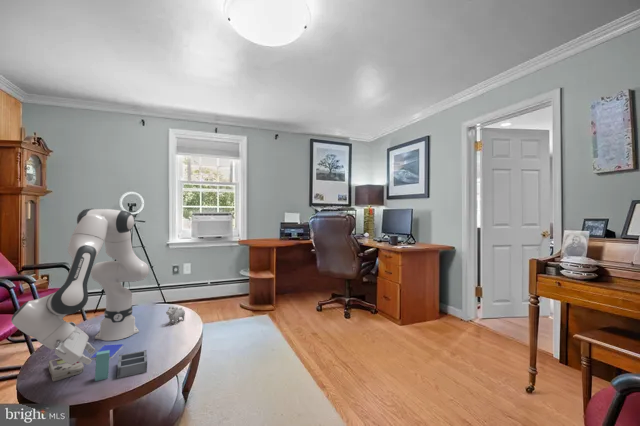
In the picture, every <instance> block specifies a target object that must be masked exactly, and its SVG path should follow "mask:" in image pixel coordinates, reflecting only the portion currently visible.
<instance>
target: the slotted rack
mask: <svg viewBox="0 0 640 426" xmlns="http://www.w3.org/2000/svg"><path fill="white" fill-rule="evenodd" d="M144 373H148V353H147V349H145V350H139V351H134V352H129V353H124V354H123V353H122V354H119V355H118V362H117V372H116V379H121V378H125V377H130V376H135V375H139V374H144Z"/></svg>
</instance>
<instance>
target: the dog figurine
mask: <svg viewBox="0 0 640 426" xmlns="http://www.w3.org/2000/svg"><path fill="white" fill-rule="evenodd" d="M165 312H166V315H168V319H169V321H168V325H171V324H172V321H173V322H174V324H173V325H174V326H176V324H178V321H180V318H182V322H185V315H186V312H185V310H184V309H183V307H179V308H178V307H177V306H176V307H174V306H169V307H168V309H167V311H165ZM177 320H178V321H177Z"/></svg>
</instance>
